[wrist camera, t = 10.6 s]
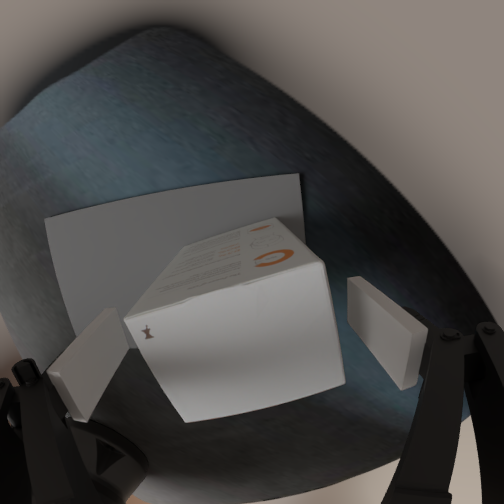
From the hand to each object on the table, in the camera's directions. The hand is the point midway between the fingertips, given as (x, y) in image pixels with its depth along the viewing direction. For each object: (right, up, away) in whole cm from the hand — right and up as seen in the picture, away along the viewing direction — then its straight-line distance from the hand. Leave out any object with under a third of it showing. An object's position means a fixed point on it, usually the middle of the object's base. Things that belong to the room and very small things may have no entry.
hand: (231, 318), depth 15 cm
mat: (-6, +2, +9) cm, 11 cm away
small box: (0, +2, +9) cm, 9 cm away
